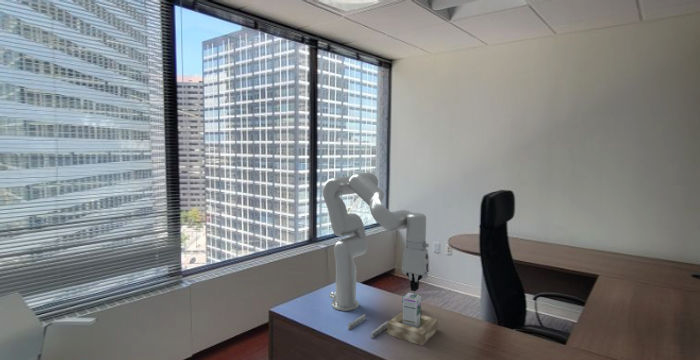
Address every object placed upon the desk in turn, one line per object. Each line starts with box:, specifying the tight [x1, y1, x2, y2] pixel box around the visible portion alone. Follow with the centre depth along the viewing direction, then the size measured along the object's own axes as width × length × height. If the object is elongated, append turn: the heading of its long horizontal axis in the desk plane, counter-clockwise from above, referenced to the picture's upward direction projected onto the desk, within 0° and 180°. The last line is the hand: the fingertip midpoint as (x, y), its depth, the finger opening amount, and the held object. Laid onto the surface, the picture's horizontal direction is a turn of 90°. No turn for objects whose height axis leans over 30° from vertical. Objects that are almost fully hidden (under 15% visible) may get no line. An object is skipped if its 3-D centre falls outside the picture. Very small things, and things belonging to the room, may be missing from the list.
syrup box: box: [402, 292, 422, 329], centre depth 150 cm, size 6×6×14 cm
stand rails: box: [347, 313, 389, 339], centre depth 152 cm, size 12×12×2 cm
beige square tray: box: [386, 310, 439, 346], centre depth 150 cm, size 15×15×4 cm
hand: (414, 290), depth 148 cm, fingers closed
